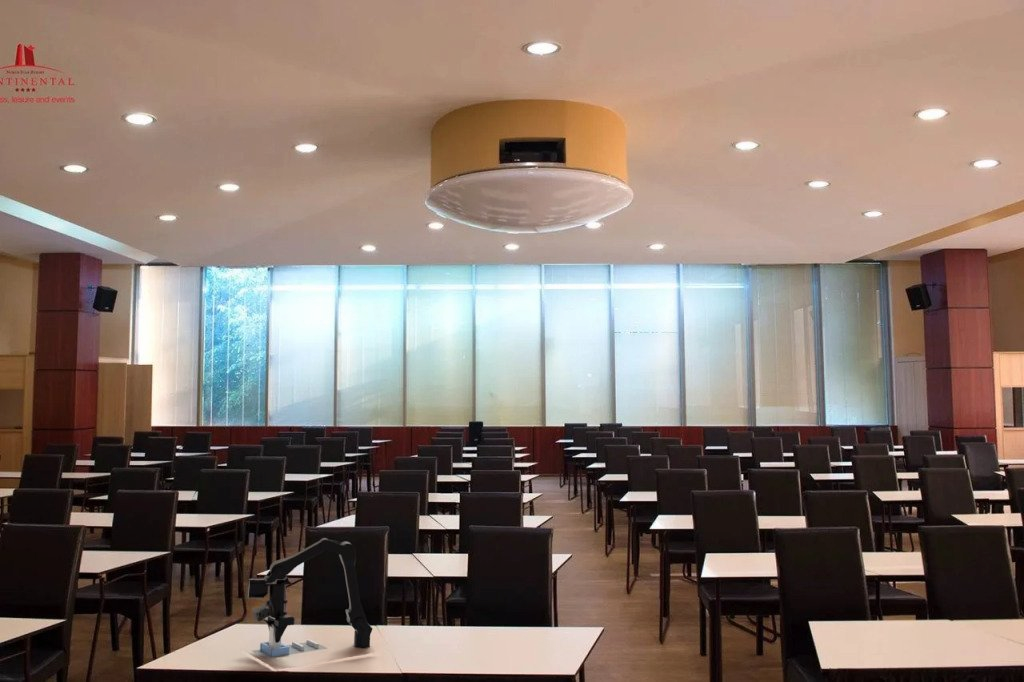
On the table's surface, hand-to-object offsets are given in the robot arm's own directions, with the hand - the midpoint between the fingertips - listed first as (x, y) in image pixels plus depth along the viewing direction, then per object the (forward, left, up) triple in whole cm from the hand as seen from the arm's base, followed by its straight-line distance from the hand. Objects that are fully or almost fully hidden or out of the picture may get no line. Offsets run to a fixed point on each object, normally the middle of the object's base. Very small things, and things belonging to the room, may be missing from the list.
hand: (275, 641), depth 306 cm
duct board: (0, -6, -5) cm, 8 cm away
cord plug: (0, 0, -2) cm, 2 cm away
